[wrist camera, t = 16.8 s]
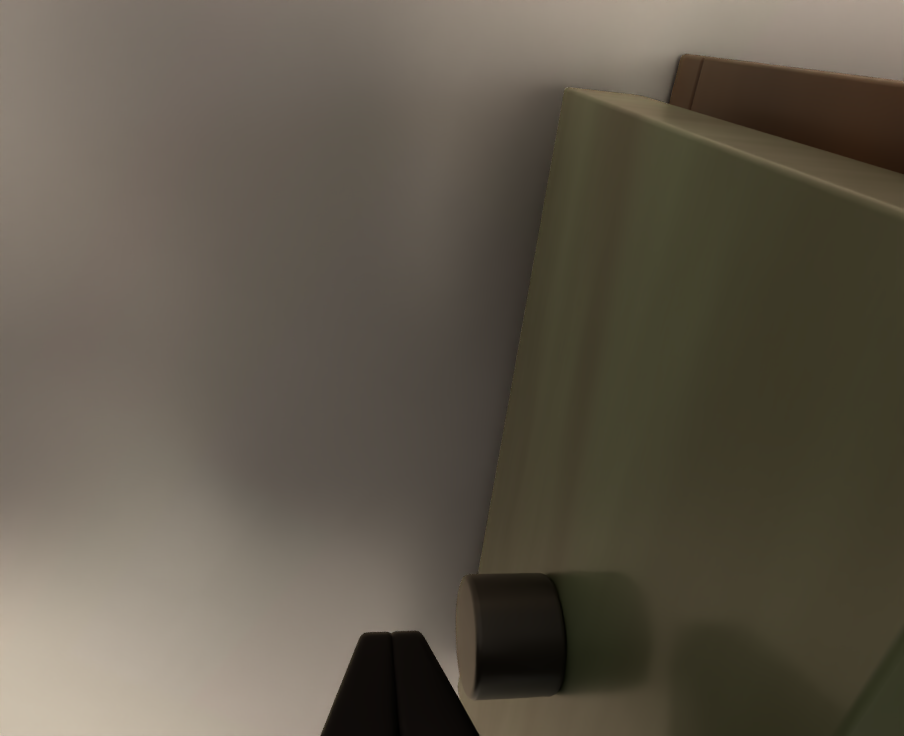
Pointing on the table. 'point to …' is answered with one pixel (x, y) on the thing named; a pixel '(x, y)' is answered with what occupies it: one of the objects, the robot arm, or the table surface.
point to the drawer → (698, 443)
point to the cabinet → (800, 105)
